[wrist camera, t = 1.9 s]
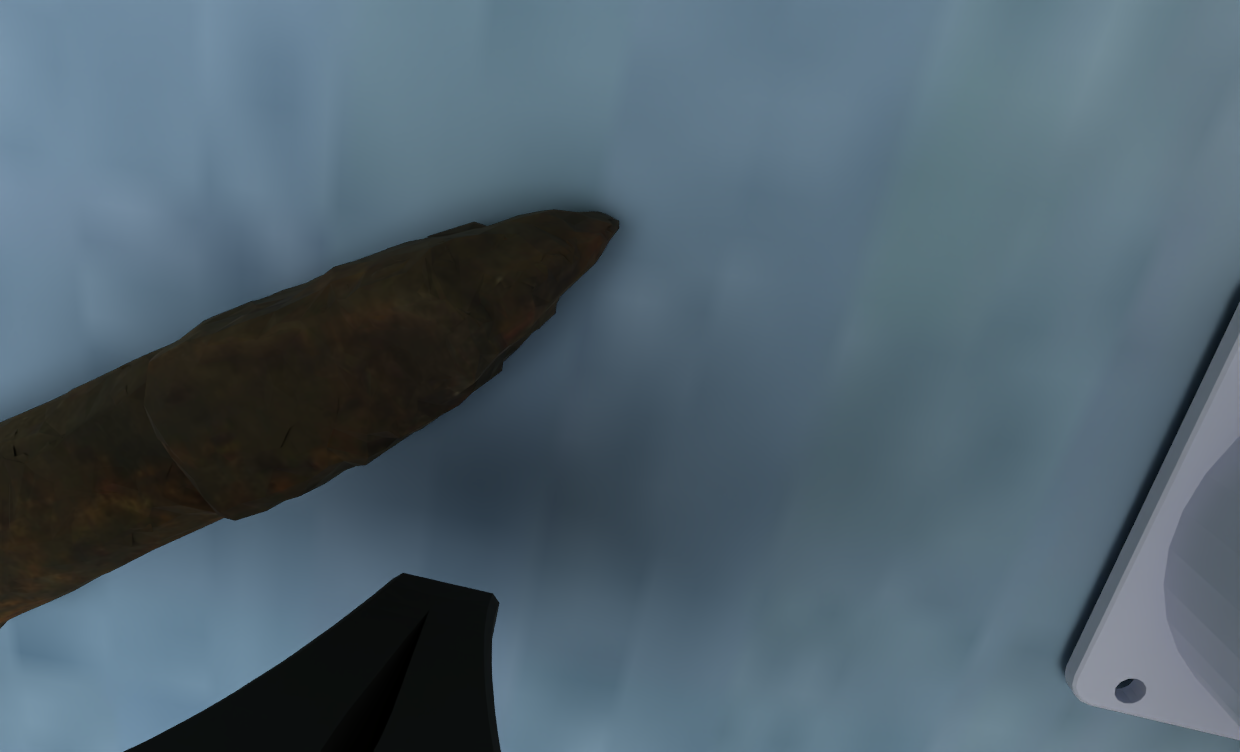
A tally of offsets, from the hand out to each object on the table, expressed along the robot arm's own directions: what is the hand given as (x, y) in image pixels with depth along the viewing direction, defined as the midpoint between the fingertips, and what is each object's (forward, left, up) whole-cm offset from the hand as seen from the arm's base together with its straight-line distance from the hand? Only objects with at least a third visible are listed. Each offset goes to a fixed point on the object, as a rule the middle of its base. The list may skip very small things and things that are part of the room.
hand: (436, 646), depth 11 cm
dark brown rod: (+7, 0, -5) cm, 8 cm away
